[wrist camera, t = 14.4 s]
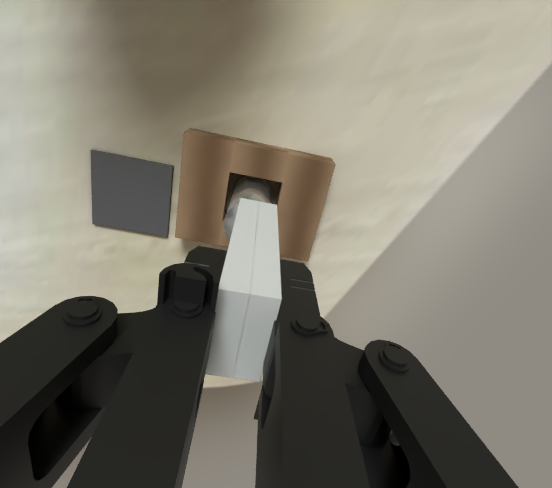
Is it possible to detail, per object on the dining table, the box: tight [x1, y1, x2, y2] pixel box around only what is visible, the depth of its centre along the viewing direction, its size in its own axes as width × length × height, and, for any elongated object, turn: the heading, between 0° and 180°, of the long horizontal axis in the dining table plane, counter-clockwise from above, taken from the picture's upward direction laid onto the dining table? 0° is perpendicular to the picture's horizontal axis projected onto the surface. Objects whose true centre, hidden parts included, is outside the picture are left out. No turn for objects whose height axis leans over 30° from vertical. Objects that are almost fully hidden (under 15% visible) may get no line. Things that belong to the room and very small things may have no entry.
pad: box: [91, 150, 173, 237], centre depth 41 cm, size 9×9×1 cm
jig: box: [175, 128, 335, 261], centre depth 40 cm, size 16×12×3 cm
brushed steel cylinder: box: [224, 176, 271, 240], centre depth 37 cm, size 4×4×10 cm
